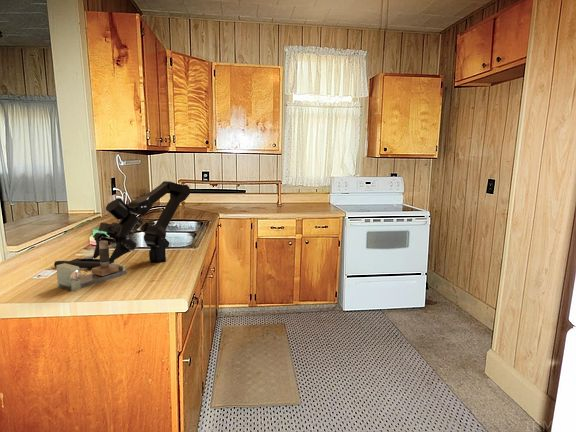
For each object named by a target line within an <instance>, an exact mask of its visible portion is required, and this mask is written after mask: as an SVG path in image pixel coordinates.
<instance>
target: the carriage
mask: <svg viewBox="0 0 576 432" xmlns="http://www.w3.org/2000/svg"><path fill="white" fill-rule="evenodd" d="M98 257H99V259H100V264H101V266H99V267H95V268H92V269H91V274H96V275H100V276H104V275H108V274H111V273H114V272H117V271H119V267H118V266H116V265H111V264H109V258H110V247H109V246H108V241H106V240H104V241H99V256H98Z"/></svg>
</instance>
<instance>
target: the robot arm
mask: <svg viewBox="0 0 576 432" xmlns="http://www.w3.org/2000/svg"><path fill="white" fill-rule="evenodd" d="M166 194H169V199H168V201H167V203H166V205H165V207H164V209H163V210H162V212H161V214H160V216H159V218H158V219H157V221H156V222H155V224H153V225H148V226H147V228H146V231H144V235H143V241H144V243H145V244H146V247H147V248H149V251H148V260H149V263H163V262H167V253H166V249H167V248H169V247H170V242H169V240H167V238H166V237H167V228H168V225H169V224H170V222H171V221H172V218H173V216H174V215H175V213H176V211H177V210H178V208H179V206H180V205H181V203H182V202H184V201H186V199H187V198H188V197H189V196H190V194H191V189H190V186H189V185H188V184H181V183H176V182H173V181H171V180H170V181H169V180H165V181H162V182H161V183H160V184H159V185H158V186H156V187H155V188H153V189H152V190H151V191H149V192H148V193H147V194H145V195H144V196H141V197H138V198H135V199H133V200H131V201H130V202H129V203H127V204H126V203H125V202H124V200H123V199H122V198H121V197H117V198H115V199H113V200H112V201H111V202H108V203H107V205H106V206H105V211H107V212H108V213H109V214H110V215H111V216H112V217H114V218H115V220H117V221H118V220H119V222H111V223H107V222H100V224H99V227H98V232H95V233H94V235H93V236H92V238H93V241H95V243H96V244H95V248H94V251H93V255H92V256H93V259H98V257H100V256H99V241H104V240H106V241H108V247H109V246H110V245H111V244H115V248H114V250H113V252H112V253H111V255H110V256H109V258H110V259H109V262H112V261H114V262H115V260H117V259H118V258H120V257H122V256H124V255H126V254H127V253H130V252H131V251H132V252H133V251H135V249H136V248H137V243H136V242H135V241H134V240H133V239H131V238H130V237H128V236H132V235H133V232H132V230H133V229H134V227H136V225H137V224H138V225H142V224H143V221H142V217H140V216H146V215H148V213H149V212H150V211H151V210H152V207H153V205H154V204H155V203H156V202H158V201H159V200H161V198H163V197H164V196H166ZM137 215H138V216H139V217H138V216H137Z"/></svg>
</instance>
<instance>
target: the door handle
mask: <svg viewBox="0 0 576 432" xmlns="http://www.w3.org/2000/svg"><path fill="white" fill-rule="evenodd" d="M109 259H110V257H109ZM64 263H66V264H70V265H74V266H78V267H79V270H92V268H95V267H99V266H101V264H100V258H95V259H94V258H93V255H89V256H85V257H83V258H74V259H71V260H55V261H54V263H53V266H54V267H55V268H57V267H56V265H60V264H64ZM111 263H115V260H114V261H112V262H109V264H111Z"/></svg>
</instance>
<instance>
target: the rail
mask: <svg viewBox="0 0 576 432" xmlns="http://www.w3.org/2000/svg"><path fill="white" fill-rule="evenodd" d="M111 265H116V266H118V267H119V271H117V272H114V273H111V274H108V275H104V276H100V275H96V274H92V273H91V274H87V275H84V276H82V272H81V270H80V269H79V267H78V266H74V265H70V264H66V263H64V264H60V265H56V267H55V268H56V275H57V287H58V288H59V289H63V290H66V291H69V292H74V291H77V290H81V289H83V288H86V287H89V286H91V285H95V284H99V283H101V282H105V281H107V280H108V281H109V280H111V279H114V278H117V277H120V276H123V275H127V269H126V265H124V264H121V263H116V262H113V263H111Z"/></svg>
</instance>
